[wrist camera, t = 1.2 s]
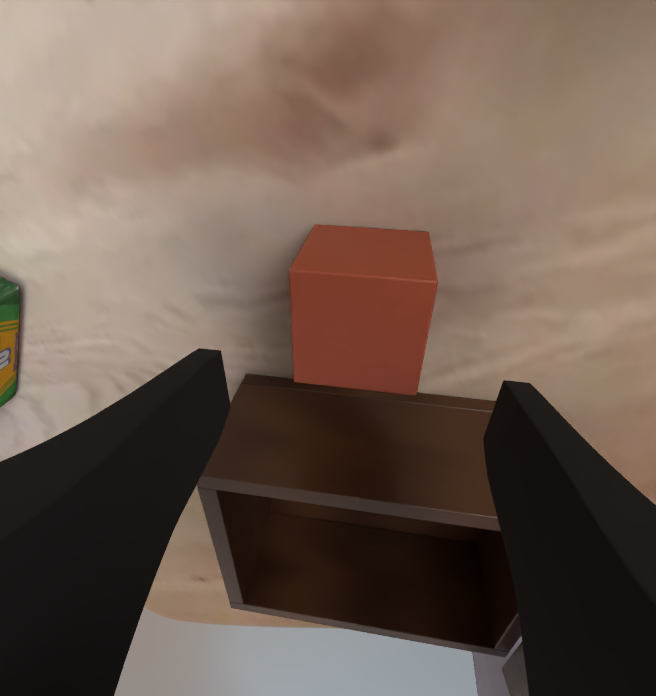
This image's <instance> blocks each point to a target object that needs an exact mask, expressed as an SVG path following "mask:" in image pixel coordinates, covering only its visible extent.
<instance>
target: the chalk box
mask: <svg viewBox="0 0 656 696" xmlns="http://www.w3.org/2000/svg"><path fill="white" fill-rule="evenodd" d="M19 304H20V291H19V286H18V285H17V284H15V283H13V282H10V281H7V280H6V279H4V278H2V277H0V407H1V406H3V405H4V404H5V403H6V402H8V401H9V400H10V399H12V398H13V397H14V396H15V394H16V374H17V372H16V371H17V358H18V357H17V355H18V335H19V329H18V328H19Z"/></svg>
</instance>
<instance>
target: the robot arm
mask: <svg viewBox="0 0 656 696" xmlns="http://www.w3.org/2000/svg"><path fill="white" fill-rule="evenodd" d="M230 408H231V407H230V401H229V395H228V389H227V383H226V377H225V371H224V366H223V360H222V354H221V351H219V350H209V349H200V348H199V349H197V350H196V351H194V352H192V353H191V354H189V355H188V356H186V357H185V358H183V359H182V360H180V361H179V362H177V363H176V364H174V365H173V366H171V367H170V368H168V369H167V370H165V371H164V372H162V373H161V374H159V375H158V376H156V377H155V378H153V379H152V380H150V381H149V382H147V383H146V384H144V385H143V386H141V387H140V388H138V389H136V390H135V391H133V392H132V393H130V394H129V395H127V396H125V397H124V398H122V399H120V400H119V401H117V402H115V403H114V404H112V405H111V406H109V407H107V408H106V409H104V410H102V411H101V412H99V413H97V414H96V415H94V416H92V417H91V418H89V419H87V420H85V421H83V422H82V423H80V424H78V425H76V426H74V427H72V428H71V429H69V430H67V431H65V432H63V433H61V434H59V435H57V436H55V437H53V438H51V439H49V440H47V441H45V442H43V443H41V444H39V445H37V446H35V447H33V448H31V449H28V450H26V451H24V452H22V453H19V454H17V455H15V456H13V457H10V458H8V459H6V460H4V461H1V462H0V696H114V694H115V690H116V687H117V684H118V681H119V678H120V675H121V672H122V669H123V665H124V662H125V659H126V656H127V653H128V651H129V648H130V645H131V642H132V639H133V636H134V633H135V630H136V627H137V625H138V621H139V619H140V615H141V613H142V610H143V608H144V605H145V602H146V600H147V597H148V594H149V592H150V589H151V586H152V584H153V581H154V578H155V576H156V573H157V570H158V568H159V565H160V563H161V560H162V558H163V555H164V553H165V550H166V548H167V545H168V543H169V540H170V538H171V535H172V533H173V530H174V528H175V526H176V524H177V522H178V520H179V518H180V515H181V513H182V512H183V510H184V508H185V506H186V504H187V502H188V500H189V498H190V496H191V494H192V492H193V490H194V488H195V486H196V485H197V483H198V481H199V479H200V477H201V475H202V473H203V471H204V469H205V467H206V465H207V463H208V461H209V459H210V457H211V455H212V453H213V451H214V450H215V448H216V445H217V443H218V441H219V439H220V436H221V434H222V431H223V428H224V426H225V423H226V420H227V417H228V414H229V411H230ZM483 443H484V453H485V462H486V470H487V477H488V481H489V485H490V489H491V494H492V498H493V502H494V506H495V510H496V514H497V518H498V522H499V526H500V529H501V533H502V537H503V541H504V545H505V549H506V553H507V557H508V561H509V565H510V570H511V575H512V579H513V584H514V590H515V596H516V603H517V610H518V616H519V623H520V630H521V637H520V638H519V640H518V641H517V643H516V644H515V645H514V647H513V648H512V649H511V651H510V652H509V654H508V655H507V656H506V657H499V656H494V655H488V654H483V653H477V652H472V653H473V661H474V669H475V677H476V685H477V693H478V696H510V694H509V691H508V688H507V685H506V682H505V678H504V675H503V672H502V667H503V666H504V664H505V663H506V662H507V660H508V659H509V658H510V656H511V655H512V654H513V652H514V651H515V650H516V648H517V647H518V646H519V644H520V643H521V642H522V644H523V652H524V660H525V667H526V675H527V683H528V692H529V696H656V505H655V504H653V503H652V502H651V501H650V500H649V499H648V498H646V497H645V496H644V495H643V494H642V493H641V492H640V491H638V490H637V489H636V488H635V487H634V486H633V485H632V484H631V483H630V482H629V481H628V480H626V479H625V478H624V477H623V476H622V475H621V474H620V473H619V472H618V471H617V470H615V469H614V468H613V467H612V466H611V465H610V464H609V463H608V462H607V461H606V460H605V459H604V458H603V457H602V456H601V455H600V454H599V453H598V452H597V451H596V450H595V449H594V448H593V447H592V446H591V445H590V444H589V443H588V442H587V441H586V440H585V439H584V438H583V437H582V436H581V435H580V434H579V433H578V432H577V431H576V430H575V429H574V428H573V427H572V426H571V425H570V424H569V423H568V422H567V421H566V420H565V419H564V418H563V417H562V416H561V415H560V414H559V413H558V412H557V410H556V409H555V408H554V407H553V406H552V405H551V404H550V403H549V402H548V401H547V400H546V399H545V398H544V397H543V396H542V395H541V394H540V393H539V392H538V391H537V390H536V389H535V388H534V387H533V386H532V385H531V384H530V383H524V382H515V381H505V380H504V381H503V384H502V386H501V389H500V392H499V395H498V398H497V400H496V403H495V406H494V409H493V412H492V414H491V417H490V420H489V423H488V426H487V429H486V431H485V434H484V437H483Z"/></svg>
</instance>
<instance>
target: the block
mask: <svg viewBox="0 0 656 696" xmlns="http://www.w3.org/2000/svg"><path fill="white" fill-rule="evenodd" d="M437 286H438V279H437V274H436V268H435V262H434V257H433V251H432V246H431V240H430V235H429V232H422V231H407V230H391V229H376V228H360V227H345V226H329V225H314V227H313V229H312V231H311V232H310V234H309V236H308V238H307V239H306V241H305V243H304V245H303V246H302V248H301V250H300V252H299V253H298V255H297V257H296V259H295V260H294V262H293V264H292V265H291V267H290V269H289V288H290V311H291V335H292V358H293V380H294V382H297V383H306V384H315V385H324V386H333V387H342V388H351V389H360V390H369V391H378V392H387V393H396V394H405V395H416V394H417V389H418V384H419V379H420V374H421V369H422V364H423V358H424V353H425V348H426V343H427V338H428V333H429V327H430V322H431V317H432V312H433V307H434V302H435V296H436V291H437Z"/></svg>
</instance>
